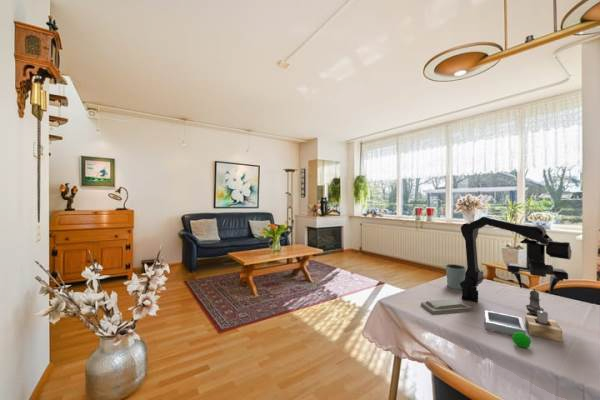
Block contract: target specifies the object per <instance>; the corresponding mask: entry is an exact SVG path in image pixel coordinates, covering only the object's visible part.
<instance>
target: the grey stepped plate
mask: <svg viewBox="0 0 600 400" xmlns="http://www.w3.org/2000/svg"><path fill="white" fill-rule="evenodd" d="M420 307H422V308H424V309H425V310H427V312H429V313H430V314H432V315H443V314H453V313H464V312H465V313H467V312H473V311H474V310H473V308H472V306H469V305H468V304H466V303H464V302H462V301H460V300H459V299H436V300H434V299H433V300H426V301H422V302H421V303H420Z"/></svg>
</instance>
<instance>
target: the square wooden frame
mask: <svg viewBox="0 0 600 400" xmlns="http://www.w3.org/2000/svg"><path fill="white" fill-rule="evenodd" d="M524 317H525V318H524V319H525V321H524V322H525V323H524V324H525V328H526V329H527V330H526V331H527V333H528V334H529V335H531V336H535V337H540V338H543V339H549V340H552V341H553V340H554V341H557V342H561V343H562V342H563V329H562V328H561V327H560V324H559V323H558V321H557V320H555V319H549V318H548V325H543V324H538V323H537V317H535V316H530V315H527V314H525V316H524Z"/></svg>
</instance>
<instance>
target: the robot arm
mask: <svg viewBox="0 0 600 400" xmlns="http://www.w3.org/2000/svg"><path fill="white" fill-rule="evenodd" d="M485 226H489V227H493V228H497V229H501V230H506V231H508V232H513V233H515V234H519V235H520V236H522V237H524V239H523V240H521V241H519V242H520V244H526V263H525V264H526V265H525V266H520V265H519V264H518V263H513V262H512V263H510V262H508V263H507V264H506V270H507V272H509V273H511V275H514V276H515V278H516V280H517V282H518V285H519V287H520V289H522V288H523V284H522V278H521V272H528V273H529V274H530V275H531V276H533V277H534V276H535V277H536V276H537V277H543V278H546V277H547V275H550V279H549V285H548V286H549V287H548V292H549V294H551V293H552V292H553V291H554V288H555V287H556V285H557V284H558V283H560V282H564V280H569V273H568V272H567V271H566V270H565V269H560V268H555V267H553V265H552V264H546V263H545V261H546V255H547V256H549V257H550V258H554V259H556V258H557V259H562V260H571V259H572V258H571V257H572V249H571V245H570V244H571V243H570V242H568V241H557V240H556V241H554V240H553V239H552V238H551V237H550V236H549V235H548V234H547V230H546V229H545V228H544V227H543V226H541V225H535V224H525V223H524V224H523V223H518V222H517V223H516V222H513V221H508V220H505V219H504V220H503V219H499V218H495V217H490V216H489V215H487V216H485V215H484V216H482V217H480V218H477V219H476V220H474V221H470V222H466V223H465V222H464V223H463V224H462V225H461V226H460V231H461V235H462V237H463V239H464V241H465V251H466V252H465V255H466V266H467V268H466V271H465V280H464V281H462V282H461V283H460V286H461V288H462V289H461V300H463V301H464V300H465V301H470V302H475V303H477V302H478V300H479V290H478V289H477V287H478V286H479V285H481V283H483V280H485V277H484V271H483V270H480V269H479V263H478V252H477V251H478V250H477V249H478V248H477V238H478V236H479V235H478V234H479V230H480V229H482V228H483V227H485Z"/></svg>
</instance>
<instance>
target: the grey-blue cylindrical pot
mask: <svg viewBox="0 0 600 400" xmlns="http://www.w3.org/2000/svg"><path fill="white" fill-rule="evenodd" d="M466 270H467V268H466V267H465V266H464V265H460V264H451V263H450V264H446V265H445V274H446V284H447V287H448V288H450V289H452V290H462V288H461V286H460V283H461V282H462V281H464V280H465V273H466Z"/></svg>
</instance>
